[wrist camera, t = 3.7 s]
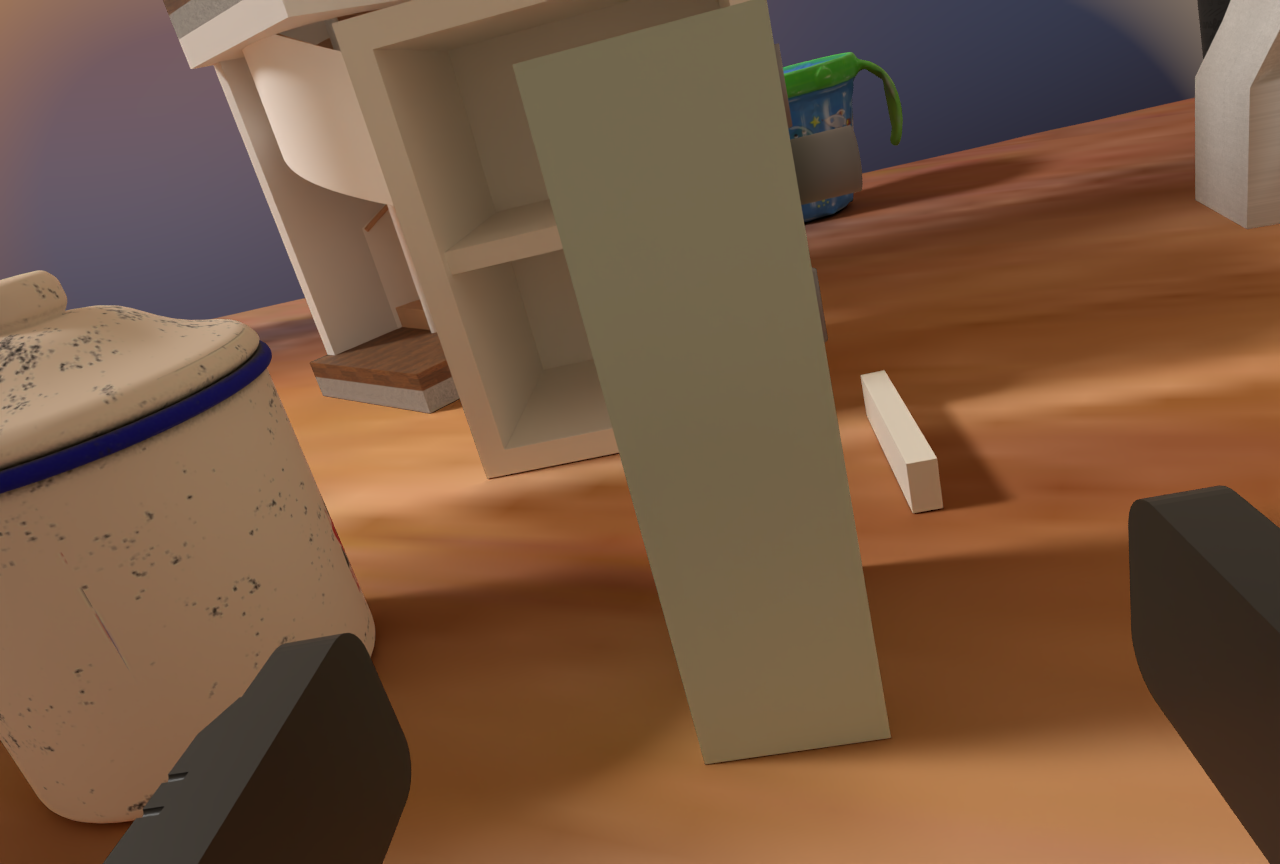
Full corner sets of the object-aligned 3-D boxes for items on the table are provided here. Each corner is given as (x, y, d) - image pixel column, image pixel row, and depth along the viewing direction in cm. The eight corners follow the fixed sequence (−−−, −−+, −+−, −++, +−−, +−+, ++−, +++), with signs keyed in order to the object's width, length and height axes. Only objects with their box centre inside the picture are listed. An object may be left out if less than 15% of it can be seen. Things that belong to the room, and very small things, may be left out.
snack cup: (689, 253, 62) (656, 104, 58) (707, 222, 71) (680, 92, 68) (918, 207, 58) (898, 43, 54) (906, 181, 67) (889, 39, 63)
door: (704, 764, 17) (512, 64, 12) (702, 592, 23) (569, 61, 18) (944, 730, 16) (839, -24, 12) (882, 561, 22) (794, 1, 17)
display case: (323, 395, 50) (17, -358, 37) (468, 329, 57) (252, -332, 44) (430, 413, 42) (89, -538, 29) (585, 334, 49) (363, -473, 36)
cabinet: (427, 600, 26) (195, 12, 20) (532, 386, 42) (423, 31, 36) (943, 508, 24) (857, -184, 18) (841, 320, 40) (779, -69, 34)
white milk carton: (1246, 229, 38) (1252, -20, 35) (1195, 200, 44) (1195, -15, 41) (1346, 212, 37) (1363, -47, 34) (1280, 184, 43) (1288, -38, 40)
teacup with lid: (448, 597, 26) (296, 199, 21) (228, 862, 18) (-81, 321, 14) (155, 602, 30) (-19, 275, 26) (-121, 814, 22) (-437, 398, 18)
